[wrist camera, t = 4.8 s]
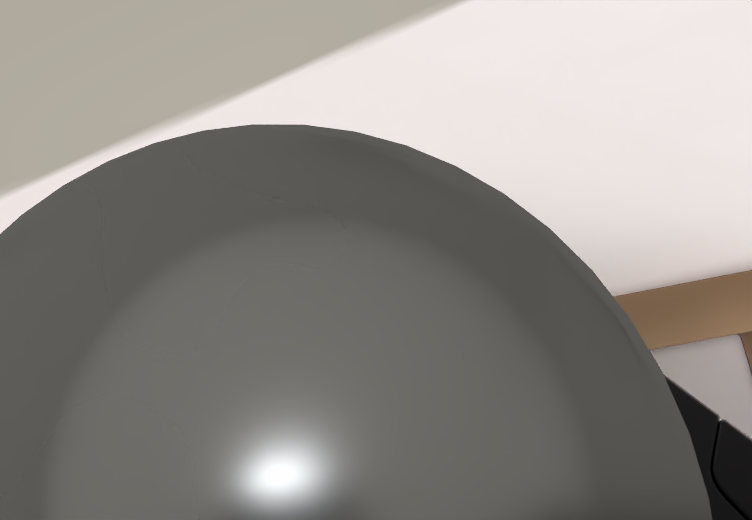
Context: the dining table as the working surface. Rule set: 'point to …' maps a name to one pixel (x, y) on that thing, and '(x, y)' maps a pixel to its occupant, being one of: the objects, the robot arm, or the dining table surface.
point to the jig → (693, 311)
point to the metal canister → (319, 347)
